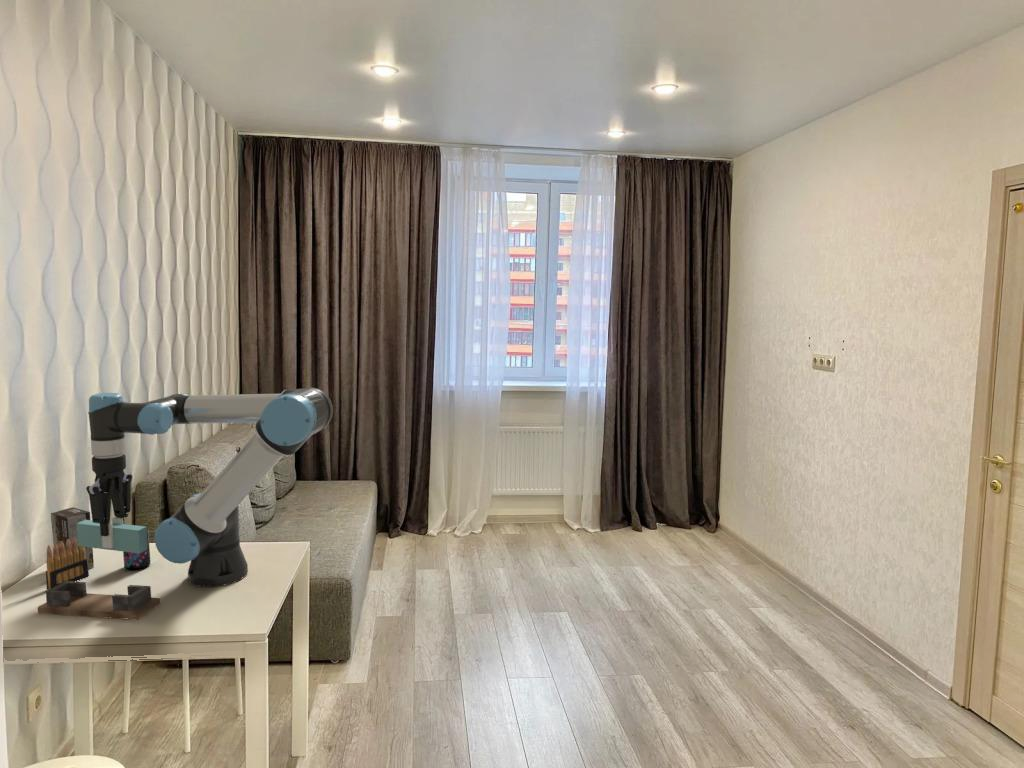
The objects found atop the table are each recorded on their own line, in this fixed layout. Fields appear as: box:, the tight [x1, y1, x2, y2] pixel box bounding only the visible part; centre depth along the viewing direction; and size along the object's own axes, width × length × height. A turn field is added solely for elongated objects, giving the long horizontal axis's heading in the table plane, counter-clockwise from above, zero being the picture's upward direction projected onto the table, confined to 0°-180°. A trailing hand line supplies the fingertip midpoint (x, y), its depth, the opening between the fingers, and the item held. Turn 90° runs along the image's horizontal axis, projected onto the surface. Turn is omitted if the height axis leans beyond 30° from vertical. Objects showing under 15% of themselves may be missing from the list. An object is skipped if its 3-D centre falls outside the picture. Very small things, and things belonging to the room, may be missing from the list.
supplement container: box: [122, 528, 151, 572], centre depth 206 cm, size 7×7×10 cm
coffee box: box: [50, 507, 95, 570], centre depth 205 cm, size 9×6×16 cm
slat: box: [77, 519, 147, 553], centre depth 188 cm, size 18×3×6 cm, turn 78°
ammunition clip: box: [45, 537, 90, 591], centre depth 195 cm, size 11×2×12 cm, turn 157°
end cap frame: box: [37, 581, 161, 620], centre depth 180 cm, size 26×9×5 cm, turn 82°
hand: (113, 544), depth 188 cm, fingers closed on slat, 3 cm apart
